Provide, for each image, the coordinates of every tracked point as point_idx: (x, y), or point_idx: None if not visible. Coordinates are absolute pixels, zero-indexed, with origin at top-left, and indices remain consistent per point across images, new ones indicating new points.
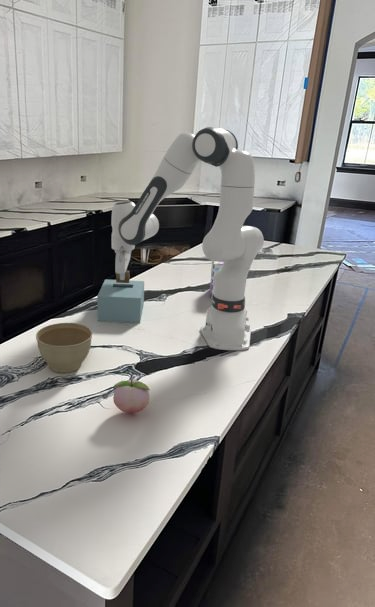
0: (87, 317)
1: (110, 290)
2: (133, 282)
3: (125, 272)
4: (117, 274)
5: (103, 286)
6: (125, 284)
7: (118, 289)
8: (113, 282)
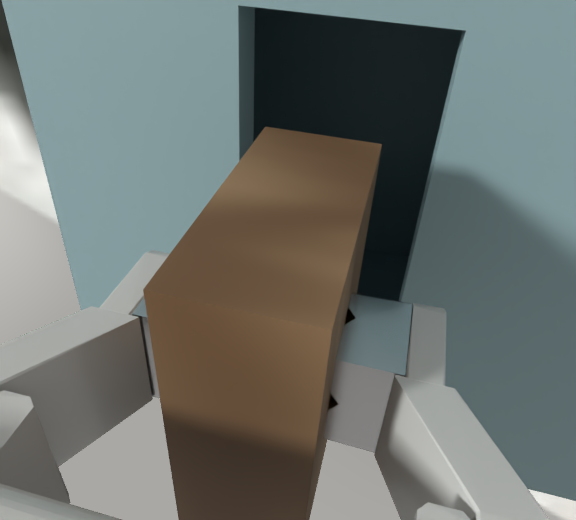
0: None
1: (558, 398)
2: (105, 2)
3: (320, 404)
4: (316, 476)
5: None
6: None
7: (529, 297)
8: None
